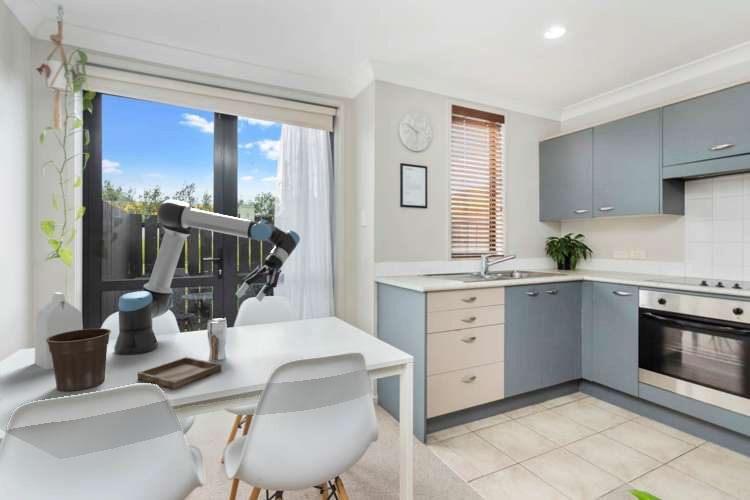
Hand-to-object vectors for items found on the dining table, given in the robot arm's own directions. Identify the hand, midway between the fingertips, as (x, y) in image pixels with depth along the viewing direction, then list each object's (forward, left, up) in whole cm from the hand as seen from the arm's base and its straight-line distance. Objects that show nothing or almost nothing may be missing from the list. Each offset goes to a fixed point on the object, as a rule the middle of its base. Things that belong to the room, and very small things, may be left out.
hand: (247, 297), depth 154 cm
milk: (-52, -42, -22) cm, 70 cm away
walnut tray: (0, -31, -22) cm, 38 cm away
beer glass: (-3, -13, -22) cm, 26 cm away
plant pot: (-22, -50, -22) cm, 59 cm away
